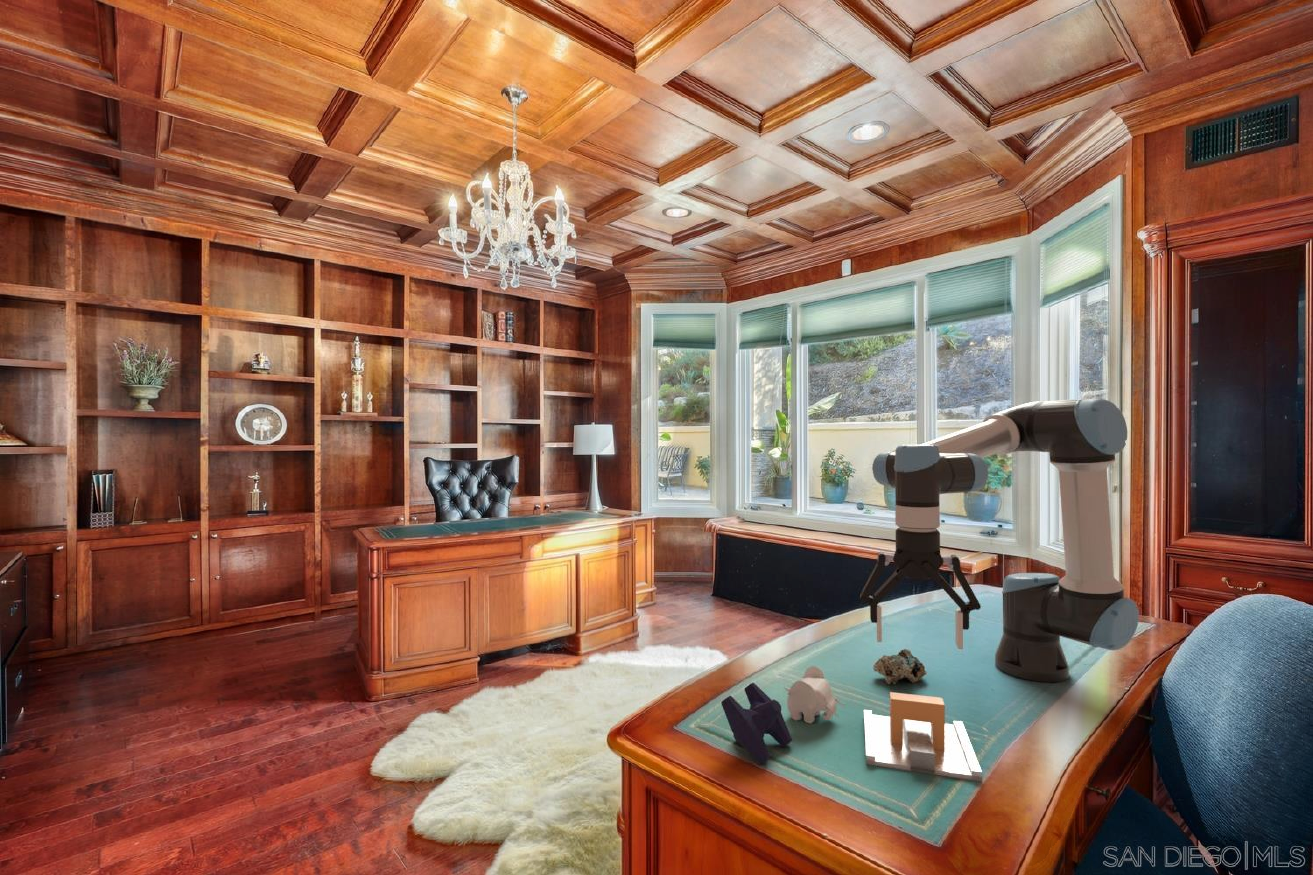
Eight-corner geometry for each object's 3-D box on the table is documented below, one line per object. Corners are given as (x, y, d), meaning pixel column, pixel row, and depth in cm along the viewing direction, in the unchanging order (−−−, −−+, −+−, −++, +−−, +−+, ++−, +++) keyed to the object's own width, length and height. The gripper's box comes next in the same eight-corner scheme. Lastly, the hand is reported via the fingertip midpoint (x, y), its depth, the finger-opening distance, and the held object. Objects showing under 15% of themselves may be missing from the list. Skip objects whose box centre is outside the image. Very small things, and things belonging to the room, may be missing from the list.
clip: (942, 741, 111) (942, 697, 111) (944, 749, 108) (944, 704, 108) (890, 734, 113) (889, 691, 113) (891, 742, 110) (890, 698, 110)
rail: (962, 729, 116) (962, 711, 116) (981, 781, 99) (981, 760, 99) (863, 717, 122) (863, 700, 122) (866, 764, 105) (866, 744, 105)
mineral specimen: (897, 689, 133) (908, 654, 134) (864, 671, 141) (874, 638, 142) (928, 696, 139) (939, 662, 140) (895, 678, 147) (905, 646, 148)
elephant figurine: (835, 735, 115) (835, 689, 115) (775, 719, 121) (775, 675, 121) (848, 715, 123) (848, 671, 123) (791, 701, 129) (791, 660, 129)
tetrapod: (806, 742, 110) (792, 679, 112) (772, 770, 101) (757, 701, 103) (756, 739, 118) (743, 679, 119) (720, 764, 109) (706, 699, 111)
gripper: (988, 527, 110) (989, 642, 111) (846, 523, 118) (847, 630, 118) (998, 534, 103) (999, 657, 104) (846, 529, 111) (847, 643, 111)
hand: (918, 643), depth 111 cm, fingers open, 13 cm apart
